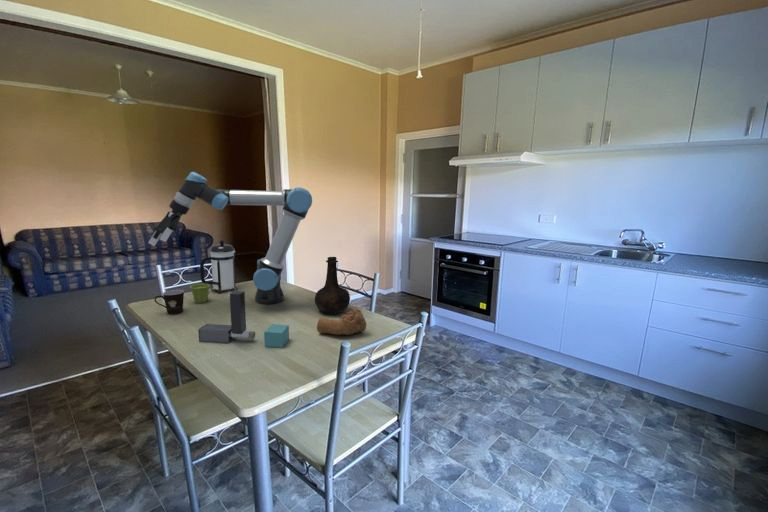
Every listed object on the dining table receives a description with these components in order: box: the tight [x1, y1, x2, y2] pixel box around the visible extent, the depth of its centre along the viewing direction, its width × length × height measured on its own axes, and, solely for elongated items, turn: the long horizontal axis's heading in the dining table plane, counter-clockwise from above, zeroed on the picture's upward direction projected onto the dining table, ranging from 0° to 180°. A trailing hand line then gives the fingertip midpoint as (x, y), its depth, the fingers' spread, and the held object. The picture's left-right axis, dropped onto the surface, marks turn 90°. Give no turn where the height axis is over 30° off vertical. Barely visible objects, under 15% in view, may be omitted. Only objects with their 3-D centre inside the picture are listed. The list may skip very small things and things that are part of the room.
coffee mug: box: [154, 289, 185, 315], centre depth 166 cm, size 12×9×10 cm
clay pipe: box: [316, 307, 367, 336], centre depth 149 cm, size 19×11×15 cm
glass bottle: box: [314, 256, 351, 314], centre depth 173 cm, size 18×18×28 cm
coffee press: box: [199, 239, 238, 294], centre depth 200 cm, size 17×16×30 cm
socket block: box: [263, 324, 290, 348], centre depth 137 cm, size 7×8×6 cm
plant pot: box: [189, 283, 211, 304], centre depth 182 cm, size 9×9×9 cm
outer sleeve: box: [197, 323, 235, 344], centre depth 139 cm, size 12×6×5 cm, turn 87°
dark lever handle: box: [229, 290, 256, 340], centre depth 137 cm, size 19×4×19 cm, turn 87°
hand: (157, 242), depth 158 cm, fingers open, 13 cm apart
